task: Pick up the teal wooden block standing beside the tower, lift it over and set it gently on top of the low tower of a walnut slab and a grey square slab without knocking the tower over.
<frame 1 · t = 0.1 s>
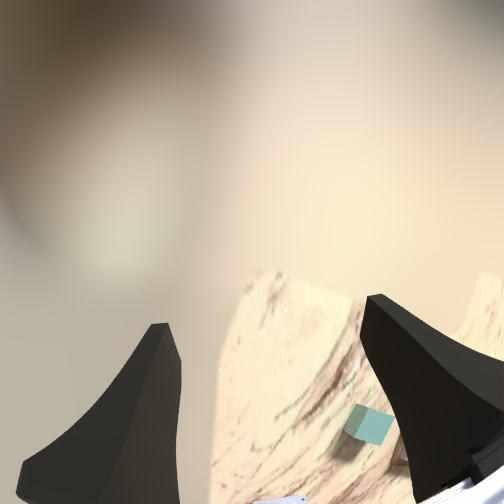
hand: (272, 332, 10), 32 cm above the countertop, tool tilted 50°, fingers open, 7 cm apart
walnut slab: (418, 438, 35), on the countertop, touching grey square slab
teal block: (362, 421, 36), on the countertop
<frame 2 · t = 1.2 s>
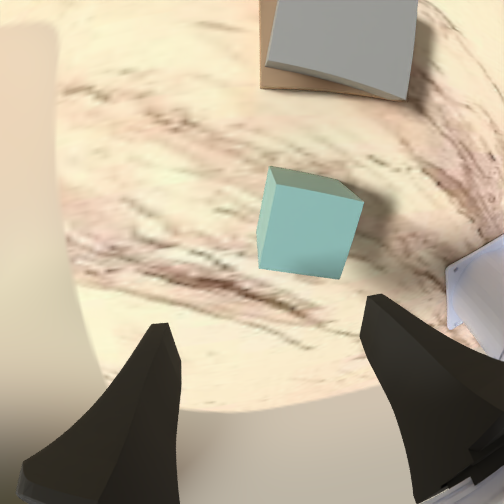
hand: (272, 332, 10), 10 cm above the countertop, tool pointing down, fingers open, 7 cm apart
walnut slab: (329, 30, 14), on the countertop, touching grey square slab
grey square slab: (340, 25, 13), point 1 cm above the countertop, touching walnut slab
teal block: (296, 205, 19), on the countertop
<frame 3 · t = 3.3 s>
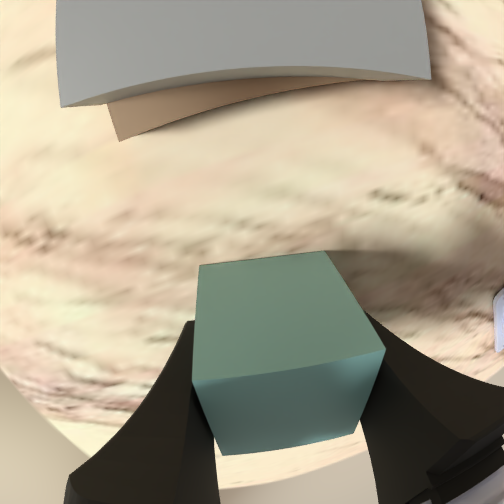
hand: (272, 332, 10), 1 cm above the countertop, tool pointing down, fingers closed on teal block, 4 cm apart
teal block: (266, 308, 12), on the countertop, touching gripper
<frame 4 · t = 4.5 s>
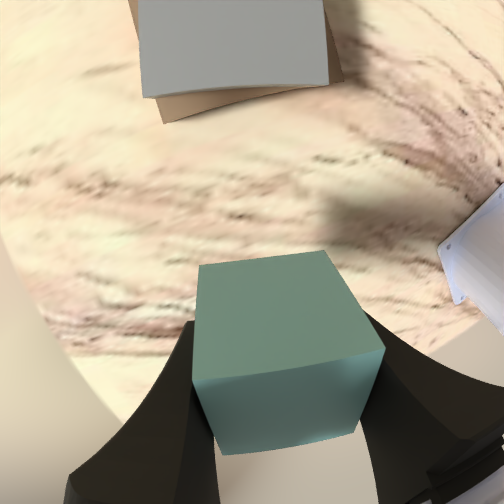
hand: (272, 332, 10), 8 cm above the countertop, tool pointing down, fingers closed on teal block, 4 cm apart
walnut slab: (230, 25, 12), on the countertop, touching grey square slab
grey square slab: (229, 17, 10), point 2 cm above the countertop, touching walnut slab
teal block: (266, 307, 12), point 7 cm above the countertop, touching gripper
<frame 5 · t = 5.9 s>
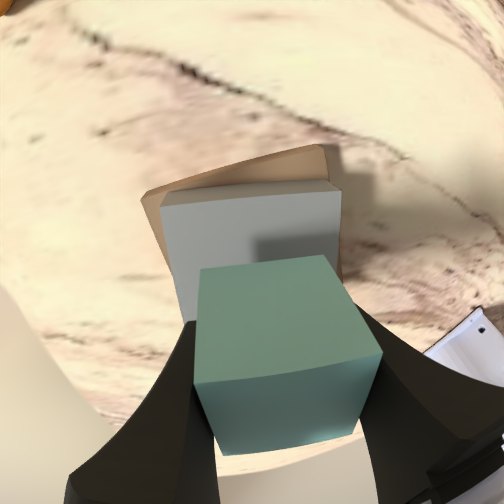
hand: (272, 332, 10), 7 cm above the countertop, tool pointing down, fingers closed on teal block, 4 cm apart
walnut slab: (250, 236, 17), on the countertop, touching grey square slab
grey square slab: (252, 255, 15), point 1 cm above the countertop, touching walnut slab
teal block: (266, 310, 12), point 6 cm above the countertop, touching gripper
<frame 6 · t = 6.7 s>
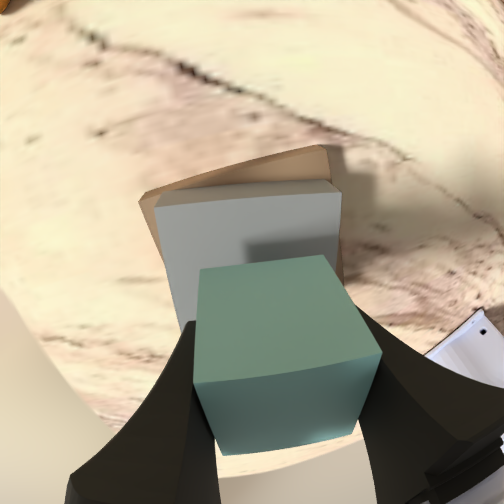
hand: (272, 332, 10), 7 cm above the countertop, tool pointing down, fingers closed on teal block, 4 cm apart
walnut slab: (250, 238, 17), on the countertop, touching grey square slab
grey square slab: (249, 256, 15), point 1 cm above the countertop, touching walnut slab
teal block: (265, 310, 12), point 5 cm above the countertop, touching gripper
when the fingers open (7 cm above the countertop, at t = 6.8 s): teal block drops 2 cm, point 4 cm above the countertop.
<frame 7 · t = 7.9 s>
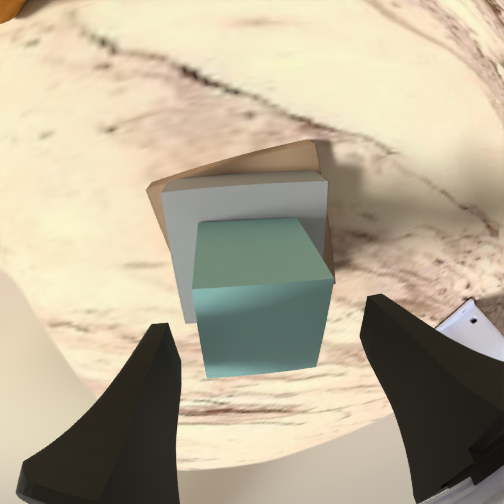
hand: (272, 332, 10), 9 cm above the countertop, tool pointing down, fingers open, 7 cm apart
walnut slab: (247, 225, 18), on the countertop, touching grey square slab
grey square slab: (245, 240, 16), point 1 cm above the countertop, touching walnut slab
teal block: (248, 262, 15), point 4 cm above the countertop
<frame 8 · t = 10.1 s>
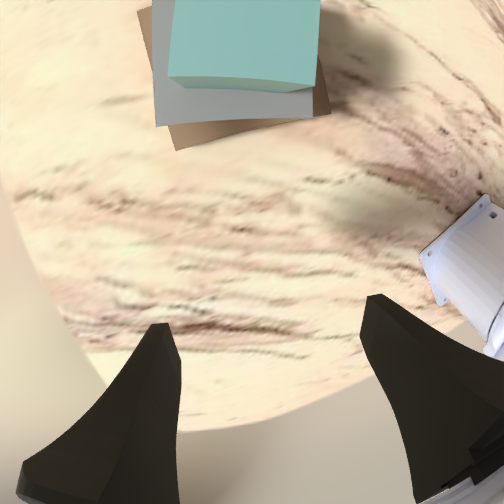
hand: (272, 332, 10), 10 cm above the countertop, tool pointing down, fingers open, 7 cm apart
walnut slab: (233, 59, 15), on the countertop
grey square slab: (230, 53, 13), point 2 cm above the countertop
teal block: (237, 45, 11), point 4 cm above the countertop
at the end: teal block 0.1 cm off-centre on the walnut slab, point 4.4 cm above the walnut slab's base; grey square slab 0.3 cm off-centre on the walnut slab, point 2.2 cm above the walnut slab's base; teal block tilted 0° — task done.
